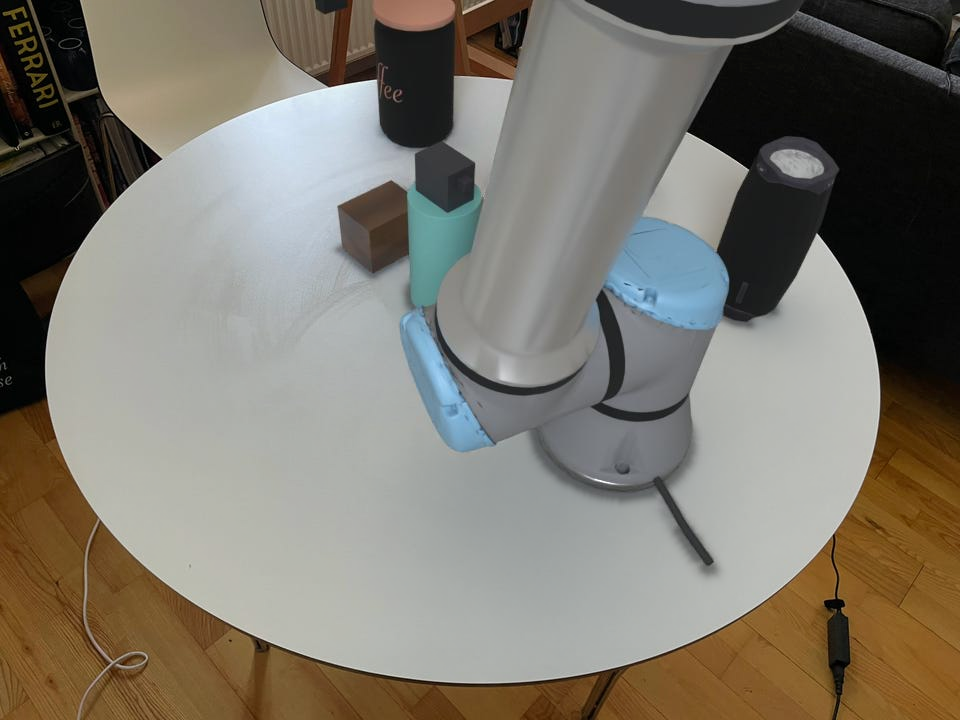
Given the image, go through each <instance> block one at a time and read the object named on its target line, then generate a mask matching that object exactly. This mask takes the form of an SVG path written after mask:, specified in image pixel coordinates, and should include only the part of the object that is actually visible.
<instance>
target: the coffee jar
mask: <svg viewBox="0 0 960 720" xmlns="http://www.w3.org/2000/svg"><path fill="white" fill-rule="evenodd" d="M372 12H373V15H374V17H375V20H374V25H373V36H374V37H373V39H374V53H375V54H374V55H375V69H376V70H375V71H376V88H377V103H378V119H379V120H378V121H379V127H380V128H381V130H382V132H383V134H384V135H385V136H386V138H387V139H388V140H390V141H391V142H392V143H393V144H396V145H398V146H400V147H404V148H405V147H406V148H409V149H425V148H428V147H430V146H432V145H434V144H436V143H438V142H440V141H443V142H444V141H445V140H446V139H447V137H448V136H449V135H450V133H451V131H452V130H453V128H454V104H455V58H456V57H455V53H456V51H455V50H456V49H455V48H456V45H455V44H456V24H455V23H456V22H455V21H454V19H455V16H456V4H455V2H454V0H374V1H373V4H372Z"/></svg>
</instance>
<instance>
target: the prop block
mask: <svg viewBox="0 0 960 720" xmlns="http://www.w3.org/2000/svg"><path fill="white" fill-rule="evenodd" d="M407 193H408V190H406V189H405V188H403V187H402V186H400V185H399V184H398V183H396V182H395V181H393V180H392V179H390V180H389V181H387V182H386V181H385V182H383V183H382V184H380V185H378V186H376V187H374V188H372V189H370V190H368V191H365V192H364V193H361V194H358V195H357V196H355V197H352V198H351V199H348V200H347V201H344V202H342V203H340V204H338V205H337V214H338V223H339V233H340V240H341V246H342V247H341V249H342V250H344V252H346V253H347V254H348V255H350V256H351V257H352V258H353V259H354V260H356V261H357V262H358V263H359V264H360V265H361V266H363V267H364V269H367V270H368V271H369V272H370V273H371V274H375V273H376V272H379V271H380V270H382V269H384V268H385V267H388V266H389V265H391V264H393V263H395V262H396V261H398V260H400V259H403V258H404V257H405V256H408V255H409V235H408V205H407Z"/></svg>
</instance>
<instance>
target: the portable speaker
mask: <svg viewBox="0 0 960 720" xmlns="http://www.w3.org/2000/svg"><path fill="white" fill-rule="evenodd" d="M839 171H840V167H838V165H837V163H836V162H835V160H834V159H833V158H832V156H830V154H829V153H827V151H826V150H825V149H824V148H823V147H822V146H821V145H820V144H819V143H818V142H816V141H815V140H811V139H809V138H806V137H803V136H790V135H789V136H787V135H785V136H782V137H780V138H778V139H775V140H772V141H770V142H768V143H766V144H763V146H762V147H761V148H760V149H759V151H758V153H757V154H756V156H755V157H754V160H753V162H752V163H751V166H750V167H749V169H748V171H747V172H746V175H745V177H744V179H743V181H742V182H741V184H740V186H739V188H738V190H737V192H736V194H735V197H734V199H733V202H732V206H731V208H730V211H729V213H728V217H727V220H726V223H725V225H724V228H723V231H722V234H721V237H720V240H719V242H718V245H717V248H716V250H715V251H716V253H717V254H718V255H719V256H720V258H721V259H722V261H723V263H724V265H725V267H726V269H727V272H728V277H729V290H728V294H727V297H726V301H725V304H724V307H723V316H725V318H729V319H731V320H733V321H737V322H745V323H747V322H750V321H751V320H753V319H755V318H760V317H763V316H767V315H768V314H770V313H772V312H773V311H774V310H776V308H777V306H778V305H779V303H780V302H781V300H782V299H783V297H784V296H785V295H786V293H787V291H788V290H789V289H790V286H792V284H793V282H794V281H795V279H796V278H797V276H798V274H799V272H800V270H801V267H802V265H803V263H804V262H805V259H806V257H807V255H808V254H809V252H810V249H811V247H812V245H813V243H814V241H815V238H816V236H817V235H818V232H819V230H820V228H821V226H822V223H823V221H824V217H825V213H826V211H827V207H828V204H829V201H830V197H831V194H832V190H833V187H834V183H835V181H836V177H837V175H838V173H839Z"/></svg>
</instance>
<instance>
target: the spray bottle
mask: <svg viewBox="0 0 960 720" xmlns="http://www.w3.org/2000/svg"><path fill="white" fill-rule="evenodd" d="M414 173H415V174H414V178H415V179H414V180H415V181H414V182H413V183H412V184H411V185H410V186H409V188H408V190H407V192H408V193H407V205H408V235H409V254H408V261H409V294H410V300H411V303H412V304H413V306H414V307H415V308H416V307H417V306H421V305H424V306H425V307H427V306H430V305H433V304H435V303H436V301H437V296H438V293H439V289H440V286H441V283H442V281H443V279H444V277H445V275H446V274H447V273H448V271H449V270H450V269H451V268H452V266H453V265H454V264H455V263H456V262H457V261H458V260H460V259H461V258H462V257H463V256H465V255H467V254H468V253H470V252H471V250H472V246H473V242H474V238H475V234H476V230H477V226H478V222H479V218H480V213H481V200H482V199H483V197H482V192H481V189H480V187H479V186H478V185H477V184H476V183H475V180H476V179H475V178H476V162H475V161H474V160H472V159H471V158H469V157H467V156H465V154H463V153H462V152H460V151H458V150H457V149H455V148H453V147H452V146H451V145H449V144H448V143H446V142H444V140H443V141H440V142H438V143H436V144H434V145H432V146H430V147H425V148H422V149H421V150H419V151H417V152H414Z"/></svg>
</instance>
